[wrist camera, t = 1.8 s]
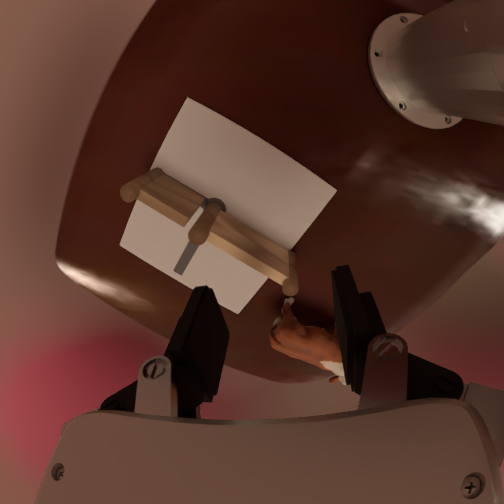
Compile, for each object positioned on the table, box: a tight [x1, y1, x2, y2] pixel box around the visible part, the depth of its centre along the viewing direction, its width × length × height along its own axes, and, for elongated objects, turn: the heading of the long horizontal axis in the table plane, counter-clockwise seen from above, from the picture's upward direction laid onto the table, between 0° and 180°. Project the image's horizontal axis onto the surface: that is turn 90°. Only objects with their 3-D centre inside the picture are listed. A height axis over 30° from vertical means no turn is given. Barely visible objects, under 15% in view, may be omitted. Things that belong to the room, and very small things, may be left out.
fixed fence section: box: [120, 168, 205, 227], centre depth 25 cm, size 2×6×6 cm, turn 58°
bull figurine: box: [268, 297, 346, 385], centre depth 31 cm, size 4×13×8 cm, turn 58°
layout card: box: [120, 97, 337, 314], centre depth 29 cm, size 19×17×1 cm
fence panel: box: [188, 203, 299, 296], centre depth 26 cm, size 11×2×6 cm, turn 58°
